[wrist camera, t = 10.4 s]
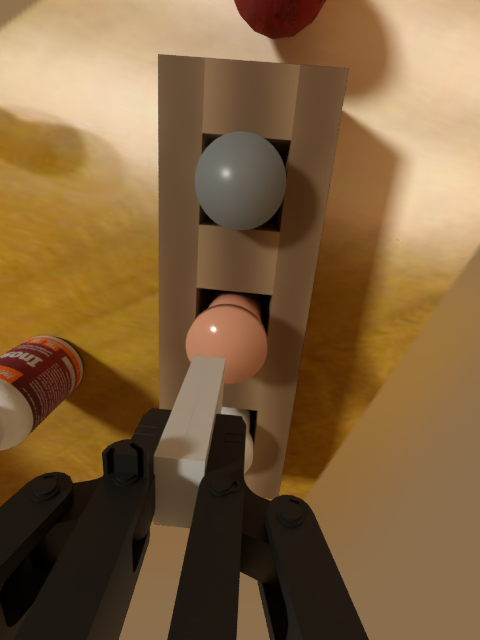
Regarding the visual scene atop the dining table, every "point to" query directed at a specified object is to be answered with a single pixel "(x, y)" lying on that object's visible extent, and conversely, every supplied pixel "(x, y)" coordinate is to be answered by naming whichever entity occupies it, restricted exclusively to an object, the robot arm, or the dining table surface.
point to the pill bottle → (34, 385)
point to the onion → (279, 15)
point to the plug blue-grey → (240, 180)
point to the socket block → (244, 245)
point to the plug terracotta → (231, 334)
